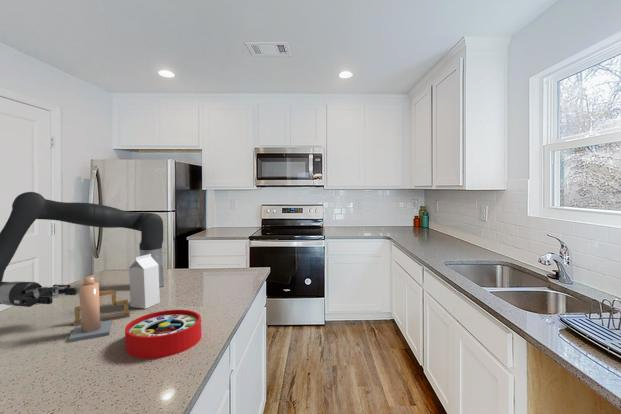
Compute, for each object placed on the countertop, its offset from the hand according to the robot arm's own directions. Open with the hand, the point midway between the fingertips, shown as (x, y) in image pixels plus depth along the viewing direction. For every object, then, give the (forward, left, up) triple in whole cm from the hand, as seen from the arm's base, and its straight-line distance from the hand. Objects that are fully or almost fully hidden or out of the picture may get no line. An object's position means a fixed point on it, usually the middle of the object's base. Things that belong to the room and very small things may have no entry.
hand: (64, 295), depth 104 cm
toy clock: (-27, +23, -12) cm, 37 cm away
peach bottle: (-7, +5, -10) cm, 13 cm away
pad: (-7, +5, -11) cm, 14 cm away
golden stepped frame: (-9, -5, -11) cm, 15 cm away
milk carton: (-22, -14, -11) cm, 29 cm away
